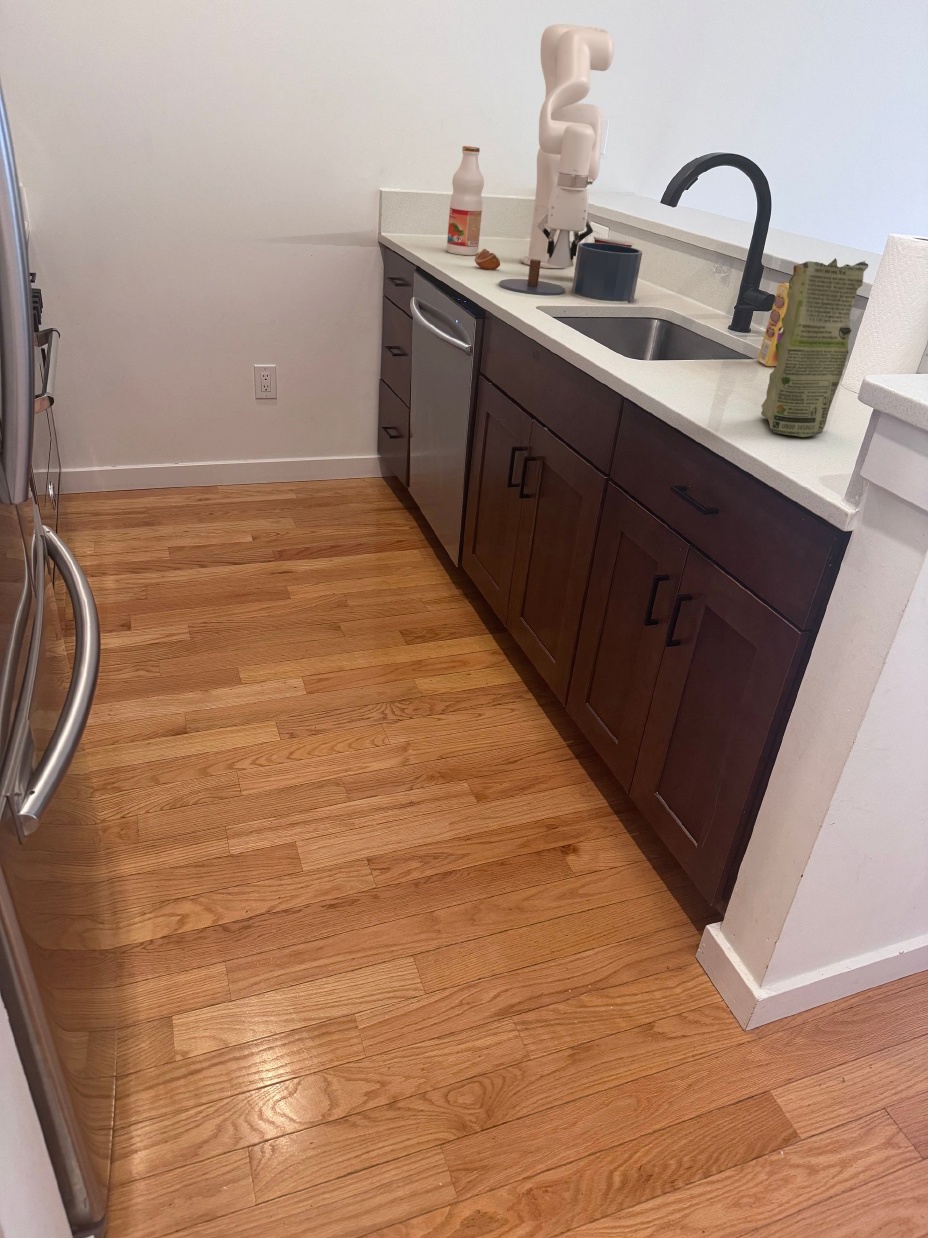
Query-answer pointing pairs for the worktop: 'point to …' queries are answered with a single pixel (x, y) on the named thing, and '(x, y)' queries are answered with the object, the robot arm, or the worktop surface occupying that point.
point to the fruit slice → (487, 260)
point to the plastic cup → (612, 241)
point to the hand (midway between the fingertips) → (560, 257)
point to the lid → (532, 283)
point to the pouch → (812, 346)
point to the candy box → (774, 327)
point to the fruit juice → (466, 205)
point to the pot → (606, 272)
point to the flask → (561, 251)
